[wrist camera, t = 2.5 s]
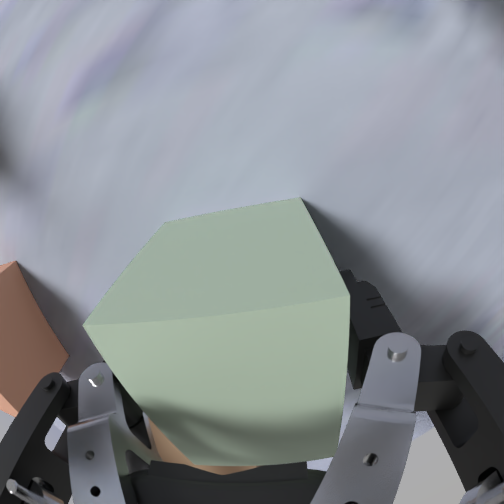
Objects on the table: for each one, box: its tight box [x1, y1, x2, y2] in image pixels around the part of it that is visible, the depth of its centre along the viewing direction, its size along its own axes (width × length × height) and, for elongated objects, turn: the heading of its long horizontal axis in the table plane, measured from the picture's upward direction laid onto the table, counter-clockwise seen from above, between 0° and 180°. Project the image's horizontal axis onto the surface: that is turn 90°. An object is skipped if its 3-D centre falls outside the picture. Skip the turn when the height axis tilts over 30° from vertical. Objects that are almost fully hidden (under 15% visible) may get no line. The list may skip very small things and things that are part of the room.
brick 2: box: [83, 198, 350, 466], centre depth 9 cm, size 5×7×6 cm
